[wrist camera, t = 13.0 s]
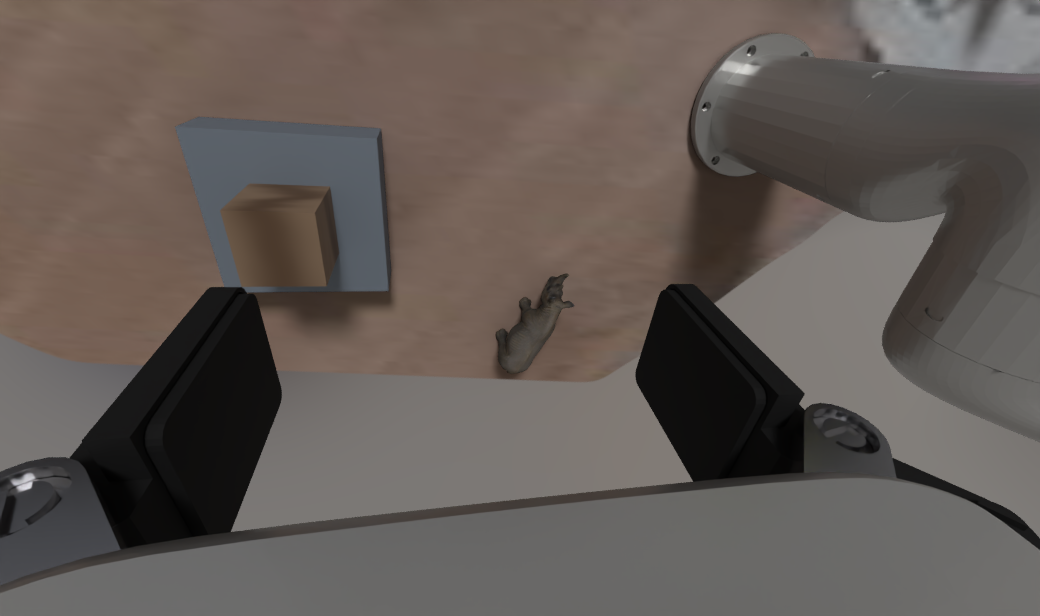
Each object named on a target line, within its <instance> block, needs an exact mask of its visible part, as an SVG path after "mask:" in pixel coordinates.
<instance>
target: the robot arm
mask: <svg viewBox="0 0 1040 616" xmlns="http://www.w3.org/2000/svg"><path fill="white" fill-rule="evenodd" d="M747 50H748V51H747ZM703 104H704V106H703ZM702 106H703V107H702ZM691 137H692V142H693V146H694V149H695V151H696V153H697V155H698V157H699V158H700V159H701V161H702V162H703V163H704V164H705V165H706V166H707V167H709V168H710V169H712V170H714V171H716V172H717V173H719V174H723V175H726V176H735V177H740V176H746V175H751V174H754V173H757V172H759V173H761V174H763V175H765V176H768V177H770V178H772V179H774V180H776V181H779V182H781V183H783V184H785V185H787V186H790V187H792V188H794V189H796V190H799V191H801V192H803V193H805V194H807V195H810V196H812V197H814V198H816V199H819V200H821V201H823V202H825V203H827V204H830V205H832V206H834V207H836V208H839V209H841V210H843V211H845V212H848V213H850V214H852V215H855V216H857V217H860V218H863V219H866V220H871V221H877V222H902V221H910V220H916V219H921V218H925V217H930V216H934V215H938V214H942V213H945V212H946V214H945V217H944V219H943V221H942V223H941V225H940V227H939V228H938V230H937V232H936V234H935V236H934V237H933V242H932V244H931V245H930V247H929V249H928V250H927V252H926V254H925V255H924V257H923V259H922V261H921V262H920V264H919V266H918V267H917V269H916V271H915V272H914V274H913V276H912V278H911V279H910V281H909V282H908V284H907V286H906V288H905V289H904V291H903V293H902V294H901V296H900V298H899V300H898V301H897V303H896V305H895V307H894V308H893V310H892V312H891V314H890V316H889V318H888V320H887V322H886V324H885V327H884V330H883V335H882V346H883V349H884V352H885V355H886V357H887V358H888V360H889V361H890V363H891V364H892V365H893V367H894V368H895V369H896V370H897V371H898V372H899V373H901V374H902V375H903V376H904V377H905V378H906V379H908V380H909V381H910V382H912V383H913V384H915V385H916V386H918V387H920V388H921V389H923V390H924V391H926V392H928V393H930V394H932V395H934V396H935V397H938V398H939V399H941V400H943V401H945V402H947V403H949V404H951V405H953V406H956V407H958V408H960V409H962V410H964V411H966V412H969V413H971V414H973V415H976V416H978V417H980V418H983V419H985V420H987V421H990V422H992V423H994V424H997V425H999V426H1002V427H1004V428H1006V429H1009V430H1011V431H1014V432H1016V433H1018V434H1021V435H1023V436H1026V437H1028V438H1031V439H1033V440H1035V441H1038V442H1040V74H1018V73H997V72H977V71H961V70H949V69H938V68H927V67H915V66H904V65H893V64H882V63H871V62H860V61H849V60H838V59H827V58H816V57H815V56H814V54H813V52H812V50H811V49H810V48H809V47H808V46H807V45H806V43H805V42H803V41H801V40H800V39H798V38H797V37H794V36H791V35H787V34H778V33H771V34H763V35H758V36H756V37H753V38H750V39H747V40H746V41H744V42H742V43H740V44H739V45H737V46H735V47H734V48H733V49H732V50H730V51H729V52H728V53H727V54H725V55H724V56H723V57H722V58H721V59H720V61H719V62H718V63H717V64H716V65H715V66H714V67H713V68H712V70H711V71H710V73H709V74H708V76H707V77H706V79H705V80H704V82H703V84H702V86H701V88H700V90H699V92H698V95H697V98H696V101H695V104H694V107H693V112H692V118H691ZM636 382H637V384H638V386H639V388H640V390H641V392H642V393H643V395H644V397H645V399H646V400H647V402H648V403H649V405H650V407H651V409H652V411H653V412H654V414H655V416H656V417H657V419H658V421H659V423H660V425H661V426H662V428H663V430H664V432H665V433H666V435H667V437H668V438H669V440H670V442H671V444H672V445H673V447H674V449H675V451H676V452H677V454H678V456H679V458H680V459H681V461H682V463H683V464H684V466H685V468H686V470H687V471H688V473H689V475H690V477H691V478H692V480H693V482H686V483H676V484H666V485H656V486H646V487H635V488H626V489H615V490H606V491H596V492H586V493H577V494H568V495H558V496H548V497H538V498H529V499H519V500H511V501H500V502H491V503H482V504H472V505H463V506H453V507H444V508H436V509H426V510H417V511H408V512H400V513H391V514H381V515H372V516H363V517H354V518H344V519H335V520H327V521H317V522H308V523H300V524H292V525H284V526H276V527H268V528H260V529H252V530H245V531H236V532H231V529H232V527H233V524H234V522H235V519H236V517H237V514H238V511H239V509H240V506H241V504H242V501H243V499H244V496H245V494H246V491H247V488H248V486H249V483H250V481H251V478H252V476H253V473H254V470H255V468H256V465H257V463H258V460H259V458H260V455H261V452H262V450H263V447H264V445H265V442H266V440H267V437H268V434H269V432H270V429H271V427H272V424H273V422H274V419H275V416H276V414H277V411H278V409H279V406H280V403H281V398H282V392H281V391H282V390H281V386H280V382H279V378H278V374H277V371H276V367H275V363H274V360H273V356H272V353H271V349H270V345H269V342H268V338H267V334H266V331H265V327H264V323H263V320H262V316H261V312H260V309H259V305H258V301H257V299H256V296H255V295H254V294H247V292H246V291H245V289H244V288H242V287H210V288H209V289H207V290H206V292H205V293H204V294H203V295H202V296H201V298H200V299H199V300H198V301H197V302H196V304H195V305H194V306H193V307H192V308H191V310H190V311H189V312H188V313H187V314H186V316H185V317H184V318H183V319H182V320H181V322H180V323H179V324H178V325H177V327H176V328H175V329H174V330H173V331H172V333H171V334H170V335H169V336H168V337H167V339H166V340H165V341H164V342H163V343H162V345H161V346H160V347H159V348H158V349H157V351H156V352H155V353H154V354H153V355H152V357H151V358H150V359H149V360H148V361H147V363H146V364H145V365H144V366H143V367H142V369H141V370H140V371H139V372H138V374H137V375H136V376H135V377H134V378H133V380H132V381H131V382H130V383H129V384H128V386H127V387H126V388H125V389H124V390H123V392H122V393H121V394H120V395H119V396H118V398H117V399H116V400H115V401H114V402H113V404H112V405H111V406H110V407H109V408H108V410H107V411H106V412H105V413H104V415H103V416H102V417H101V418H100V419H99V420H98V422H97V423H96V424H95V425H94V427H93V428H92V429H91V430H90V431H89V433H88V434H87V435H86V436H85V437H84V439H83V440H82V443H81V445H80V446H79V447H78V448H77V449H76V451H75V452H74V453H73V454H72V456H71V457H70V458H66V457H48V458H43V459H39V460H34V461H28V462H25V463H22V464H19V465H17V466H14V467H11V468H8V469H5V470H3V471H1V472H0V616H1040V538H1039V537H1038V536H1037V535H1036V534H1035V533H1034V531H1033V530H1032V529H1030V528H1029V526H1028V525H1027V524H1026V523H1025V522H1024V521H1023V520H1022V519H1021V518H1020V517H1018V516H1017V515H1016V514H1015V513H1013V512H1012V511H1010V510H1008V509H1007V508H1005V507H1003V506H1001V505H999V504H996V503H994V502H991V501H989V500H987V499H985V498H983V497H980V496H978V495H976V494H973V493H971V492H969V491H967V490H964V489H962V488H960V487H957V486H955V485H953V484H951V483H948V482H946V481H944V480H942V479H939V478H937V477H935V476H933V475H930V474H928V473H926V472H923V471H921V470H919V469H916V468H914V467H912V466H910V465H908V464H905V463H903V462H901V461H898V460H896V459H894V458H892V454H891V450H890V446H889V444H888V442H887V439H886V438H885V437H884V435H883V434H882V433H881V432H880V431H879V430H878V429H877V428H876V427H875V426H874V425H873V424H871V423H870V422H869V421H868V420H866V419H864V418H863V417H861V416H859V415H858V414H856V413H854V412H852V411H849V410H847V409H845V408H843V407H839V406H835V405H832V404H825V403H818V404H812V405H810V406H809V407H807V408H806V410H804V409H803V408H802V407H801V406H800V405H799V403H800V401H801V399H802V398H803V396H804V393H803V391H802V390H801V389H800V388H798V386H796V385H795V383H793V381H791V380H790V379H789V378H788V377H787V376H786V375H785V374H784V373H783V372H782V371H781V370H780V369H779V368H778V367H777V366H776V365H775V364H774V363H773V362H772V361H771V360H770V359H769V358H768V357H767V356H766V355H765V354H764V353H763V352H762V351H761V350H760V349H759V348H758V347H757V346H756V345H755V344H754V343H753V342H752V341H751V340H750V339H749V338H748V337H747V336H746V335H745V334H744V333H743V332H742V331H741V330H740V329H739V328H738V327H737V326H736V325H735V324H734V323H733V322H732V321H731V320H730V319H729V318H728V317H727V316H726V315H725V314H724V313H723V312H722V311H721V310H720V309H719V308H718V307H717V306H716V305H715V304H714V303H713V302H712V301H711V300H710V299H708V298H707V297H706V296H705V295H704V294H703V293H702V292H701V291H700V290H699V289H698V288H697V287H696V286H695V285H693V284H671V285H669V286H668V287H667V288H666V290H663V291H661V293H660V295H659V297H658V301H657V304H656V307H655V310H654V314H653V317H652V320H651V323H650V327H649V330H648V333H647V336H646V340H645V343H644V346H643V349H642V352H641V356H640V359H639V362H638V366H637V369H636Z"/></svg>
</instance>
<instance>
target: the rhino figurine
mask: <svg viewBox="0 0 1040 616" xmlns="http://www.w3.org/2000/svg"><path fill="white" fill-rule="evenodd" d="M568 276H569V274H563V275H560V276H558V277H553V276H552V277H550V278H549V280H548V282H547V285H546V287H545V289H544V290H543V293H542V296H541V301H542V305H541V306H540V307H539V308H538V309H532V308H530V305H531V300H529V299H528V298H527V297H524V298H522V299H521V300H520V301H519V302H520V304H519V306H520V308H521V309H523V313H522V321H521V322H520V323H518V324H517V325H515V326H514V327H513V328H512V329H511V331H510V333H509V335H508V338H507V341H506V337H507V334H508V333H507V331H505V329H500V330H499V331H497V332H496V338H497V340H498V341H499V352H498V360H499V363H500V365H501V366H502V368H503V369H505V370H506V371H507V372H508V373H510V374H514V373H520V372H523V371H525V370H526V369H528V367H529V366H530V365H531V363H532V361H533V359H534V357H535V356H536V355H537V353H538V352H539V351H540V349H541V348H542V346H543V345H544V343H545V342H546V341H547V339H548V338H549V337H550V336H551V334H552V332H553V331H554V328H555V322H556V320H557V318H558V316H559V314H560V312H561V309H563V308H570V307H573V306H574V304H573V303H572V302H570V301H566V302H563V301H562V299H561V296H562V295H563V292H562V288H563V285H562V283H563V281H564V280H565V278H566V277H568Z"/></svg>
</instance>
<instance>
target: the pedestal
mask: <svg viewBox="0 0 1040 616" xmlns="http://www.w3.org/2000/svg"><path fill="white" fill-rule="evenodd" d="M175 128H176V132H177V135H178V138H179V141H180V145H181V148H182V151H183V154H184V157H185V161H186V164H187V167H188V170H189V174H190V177H191V180H192V183H193V186H194V190H195V193H196V196H197V199H198V203H199V206H200V209H201V212H202V216H203V219H204V222H205V225H206V228H207V232H208V235H209V238H210V241H211V245H212V248H213V251H214V254H215V258H216V261H217V264H218V267H219V270H220V274H221V277H222V280H223V283H224V287H242V286H241V283H240V279H239V276H238V272H237V269H236V265H235V262H234V258H233V255H232V251H231V248H230V244H229V241H228V237H227V234H226V230H225V226H224V223H223V219H222V216H221V212H220V210H221V209H222V208H223V207H224V206H225V205H226V204H227V203H229V202H230V201H231V200H232V199H233V198H234V197H235V196H236V195H237V194H238V193H239V192H241V191H242V190H243V189H244V188H245V187H246V186H247V185H248V184H249V183H252V184H278V185H304V186H330V189H331V197H332V204H333V211H334V218H335V226H336V233H337V240H338V247H339V255H338V258H337V260H336V263H335V266H334V268H333V271H332V274H331V276H330V279H329V282H328V284H327V286H301V287H242V288H244V289H245V291H246V292H341V291H389V284H390V276H391V262H390V248H389V234H388V220H387V206H386V192H385V178H384V164H383V150H382V135H381V129H380V128H364V127H349V126H333V125H317V124H302V123H286V122H271V121H255V120H239V119H224V118H208V117H197V118H195V119H192V120H190V121H188V122H185V123H183V124H180V125H178V126H176V127H175Z"/></svg>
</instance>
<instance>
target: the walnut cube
mask: <svg viewBox="0 0 1040 616" xmlns="http://www.w3.org/2000/svg"><path fill="white" fill-rule="evenodd" d="M220 212H221V216H222V219H223V223H224V226H225V230H226V234H227V237H228V241H229V244H230V248H231V251H232V255H233V258H234V262H235V265H236V269H237V272H238V276H239V279H240V283H241V286H242V287H301V286H327V284H328V282H329V279H330V276H331V274H332V271H333V268H334V266H335V263H336V260H337V258H338V255H339V247H338V240H337V233H336V226H335V218H334V211H333V204H332V197H331V189H330V186H304V185H278V184H252V183H249V184H248V185H247V186H246V187H245V188H244V189H243V190H242V191H241V192H239V193H238V194H237V195H236V196H235V197H234V198H233V199H232V200H231V201H230V202H229V203H227V204H226V205H225V206H224V207H223V208H222V209H221V210H220Z"/></svg>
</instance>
